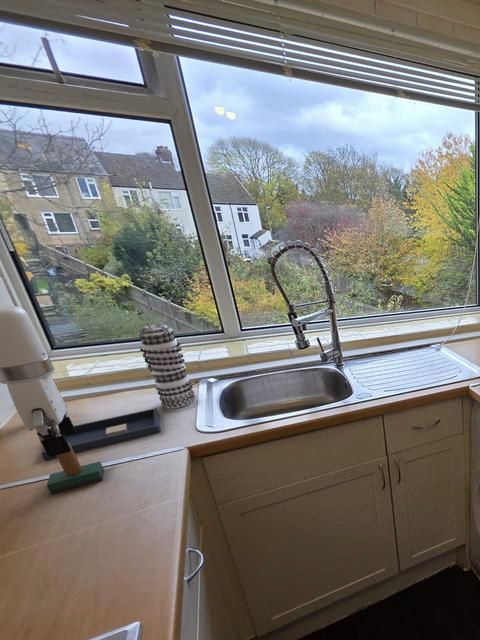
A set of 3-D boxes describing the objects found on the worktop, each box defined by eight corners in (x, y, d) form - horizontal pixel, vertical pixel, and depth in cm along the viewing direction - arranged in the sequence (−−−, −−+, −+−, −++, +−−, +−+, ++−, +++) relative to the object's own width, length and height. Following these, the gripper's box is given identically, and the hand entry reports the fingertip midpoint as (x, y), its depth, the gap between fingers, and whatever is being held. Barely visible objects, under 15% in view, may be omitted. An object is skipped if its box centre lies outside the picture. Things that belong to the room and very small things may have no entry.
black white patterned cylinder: (197, 406, 125) (172, 328, 115) (159, 413, 120) (129, 332, 111) (199, 396, 132) (176, 321, 122) (163, 402, 128) (135, 324, 118)
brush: (51, 494, 86) (31, 457, 82) (54, 483, 90) (35, 446, 86) (102, 480, 91) (86, 444, 87) (104, 470, 94) (88, 434, 91)
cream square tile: (107, 437, 106) (105, 433, 106) (108, 431, 109) (106, 427, 109) (127, 433, 109) (125, 429, 108) (127, 427, 112) (126, 423, 111)
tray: (45, 462, 97) (41, 453, 96) (54, 439, 106) (49, 430, 105) (161, 434, 110) (158, 425, 109) (159, 415, 119) (156, 407, 118)
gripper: (6, 362, 84) (45, 434, 91) (-16, 388, 72) (30, 469, 78) (58, 354, 88) (91, 423, 95) (45, 378, 76) (84, 455, 83)
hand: (63, 444), depth 87 cm, fingers open, 9 cm apart
